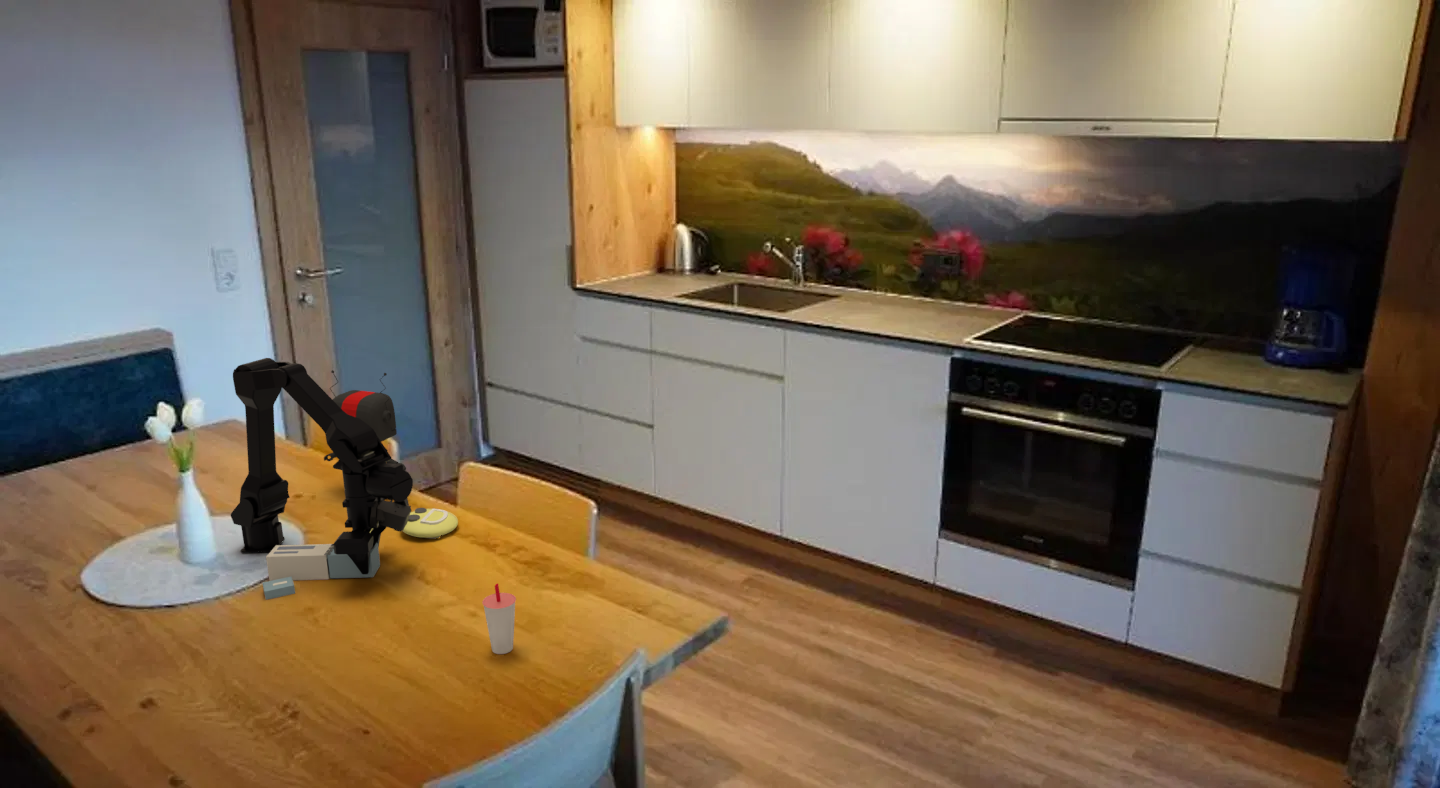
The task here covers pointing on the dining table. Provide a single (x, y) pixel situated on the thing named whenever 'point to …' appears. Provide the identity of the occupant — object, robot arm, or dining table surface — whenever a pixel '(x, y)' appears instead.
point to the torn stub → (278, 588)
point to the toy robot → (369, 414)
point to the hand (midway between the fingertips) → (369, 567)
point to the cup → (500, 620)
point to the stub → (351, 565)
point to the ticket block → (299, 562)
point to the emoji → (430, 523)
